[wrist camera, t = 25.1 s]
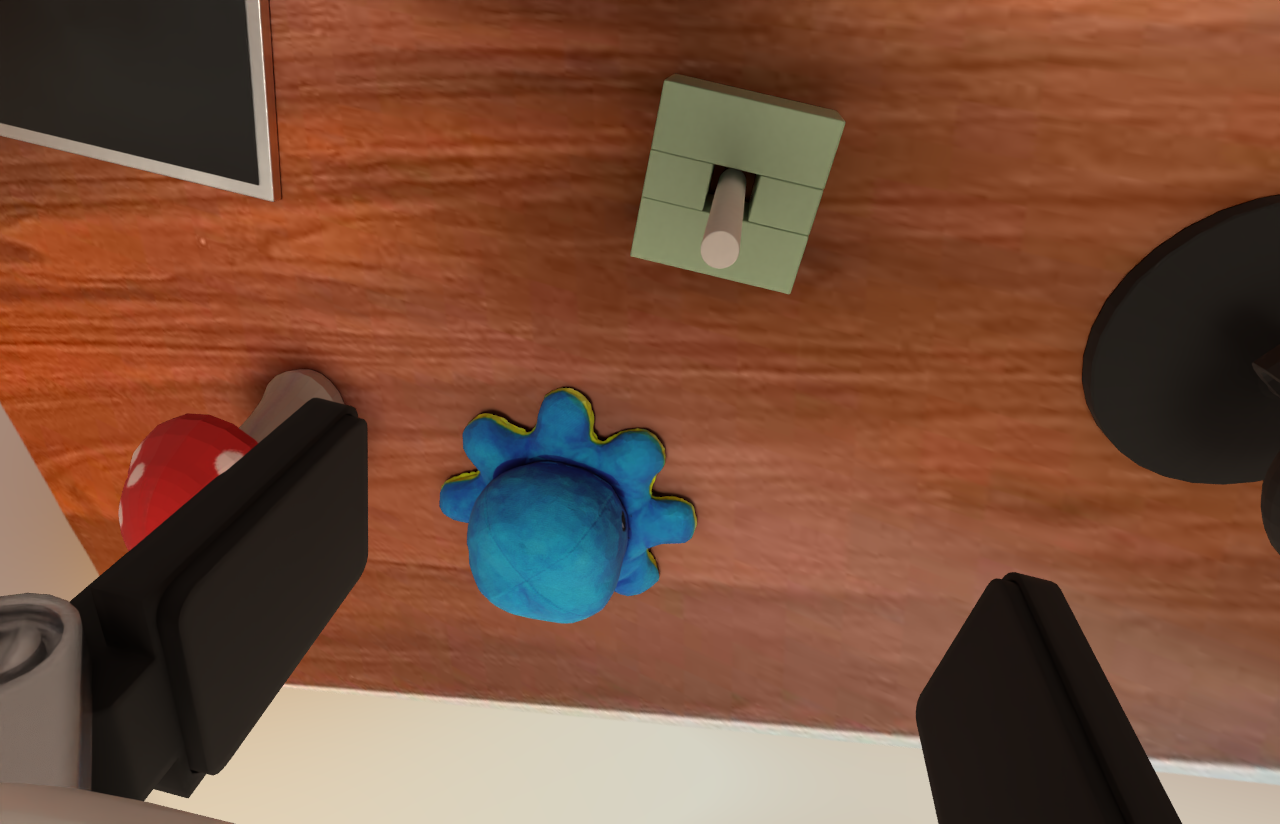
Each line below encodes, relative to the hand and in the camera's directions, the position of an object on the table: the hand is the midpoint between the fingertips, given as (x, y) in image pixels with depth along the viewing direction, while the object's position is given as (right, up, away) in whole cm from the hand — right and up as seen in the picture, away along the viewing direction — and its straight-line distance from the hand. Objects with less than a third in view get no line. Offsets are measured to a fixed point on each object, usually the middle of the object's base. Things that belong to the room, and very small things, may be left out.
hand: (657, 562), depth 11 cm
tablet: (-30, +23, +27) cm, 47 cm away
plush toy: (-5, -4, +38) cm, 39 cm away
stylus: (+5, +14, +26) cm, 30 cm away
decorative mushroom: (-22, +3, +38) cm, 44 cm away
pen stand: (+5, +14, +26) cm, 30 cm away
